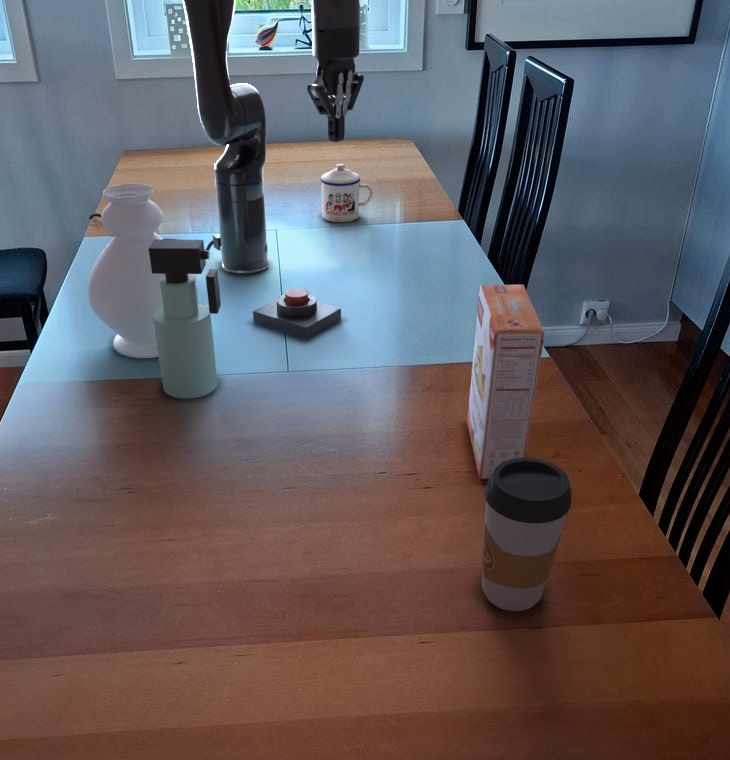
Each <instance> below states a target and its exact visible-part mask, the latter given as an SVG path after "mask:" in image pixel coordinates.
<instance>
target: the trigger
mask: <svg viewBox="0 0 730 760" xmlns="http://www.w3.org/2000/svg"><path fill="white" fill-rule="evenodd" d="M205 284H206V293H207V302H208V307H209V313H210V314H211V315H217V314H218V313H219V311H220V309H221V306H222V303H221V302H222V301H221V291H220V281H219V271H218V268H210V269H208V272H207V274H206V276H205Z"/></svg>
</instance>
